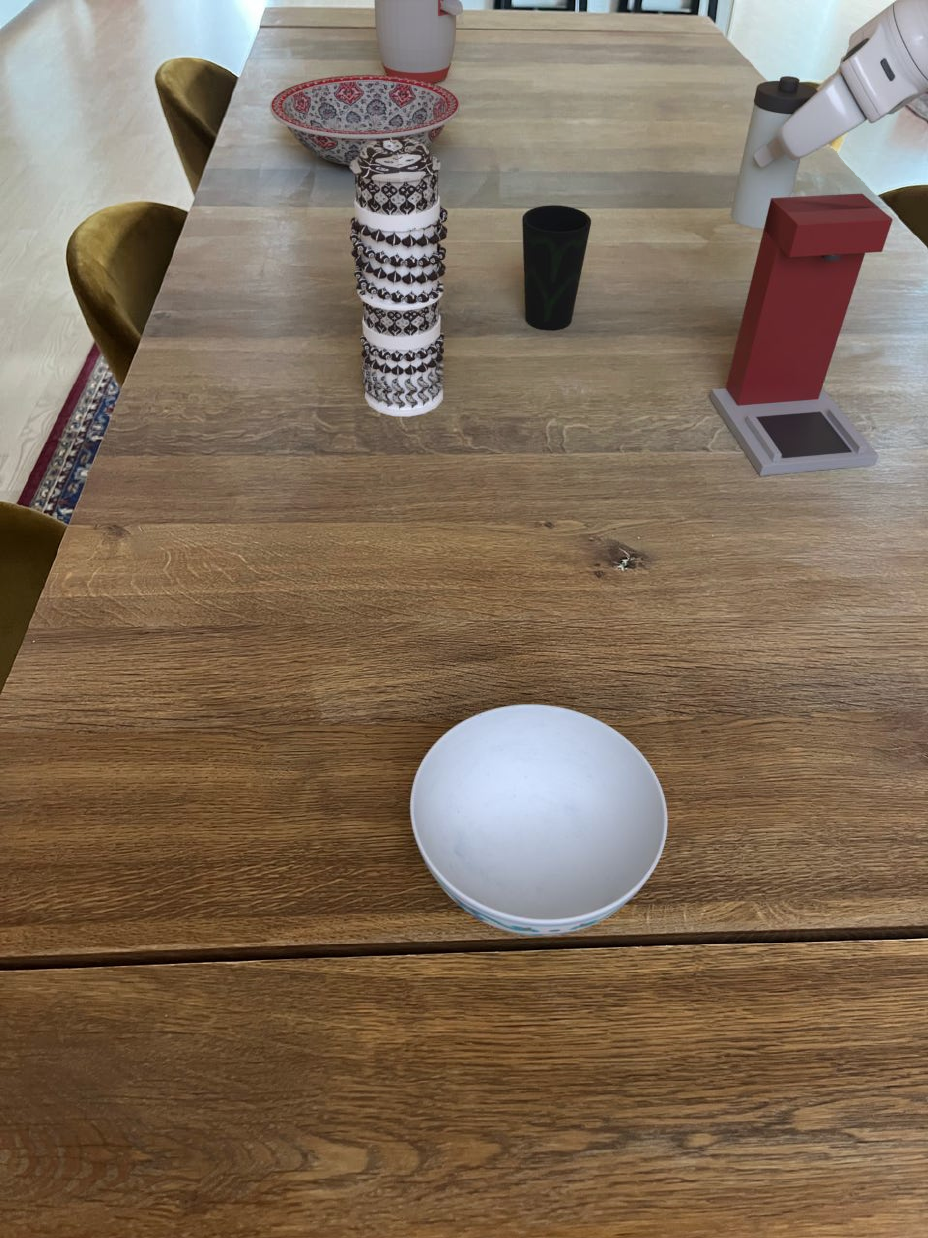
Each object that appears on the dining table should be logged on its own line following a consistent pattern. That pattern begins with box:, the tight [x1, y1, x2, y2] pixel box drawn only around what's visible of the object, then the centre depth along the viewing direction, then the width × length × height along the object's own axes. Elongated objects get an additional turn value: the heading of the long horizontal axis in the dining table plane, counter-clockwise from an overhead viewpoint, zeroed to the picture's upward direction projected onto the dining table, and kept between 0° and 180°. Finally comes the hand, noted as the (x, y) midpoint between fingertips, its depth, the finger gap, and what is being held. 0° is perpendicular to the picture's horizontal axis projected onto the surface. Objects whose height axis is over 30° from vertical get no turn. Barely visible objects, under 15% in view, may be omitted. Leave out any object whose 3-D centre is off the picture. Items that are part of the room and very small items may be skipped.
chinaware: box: [409, 703, 668, 937], centre depth 58 cm, size 15×15×8 cm
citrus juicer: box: [374, 0, 464, 84], centre depth 174 cm, size 16×17×20 cm
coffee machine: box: [709, 193, 894, 477], centre depth 89 cm, size 14×12×21 cm
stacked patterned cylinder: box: [349, 138, 449, 418], centre depth 92 cm, size 9×9×25 cm
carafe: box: [729, 75, 818, 230], centre depth 104 cm, size 6×6×14 cm
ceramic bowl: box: [269, 74, 461, 166], centre depth 148 cm, size 29×29×8 cm
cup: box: [521, 205, 592, 331], centre depth 109 cm, size 8×8×12 cm
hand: (767, 149), depth 104 cm, fingers closed on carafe, 6 cm apart
